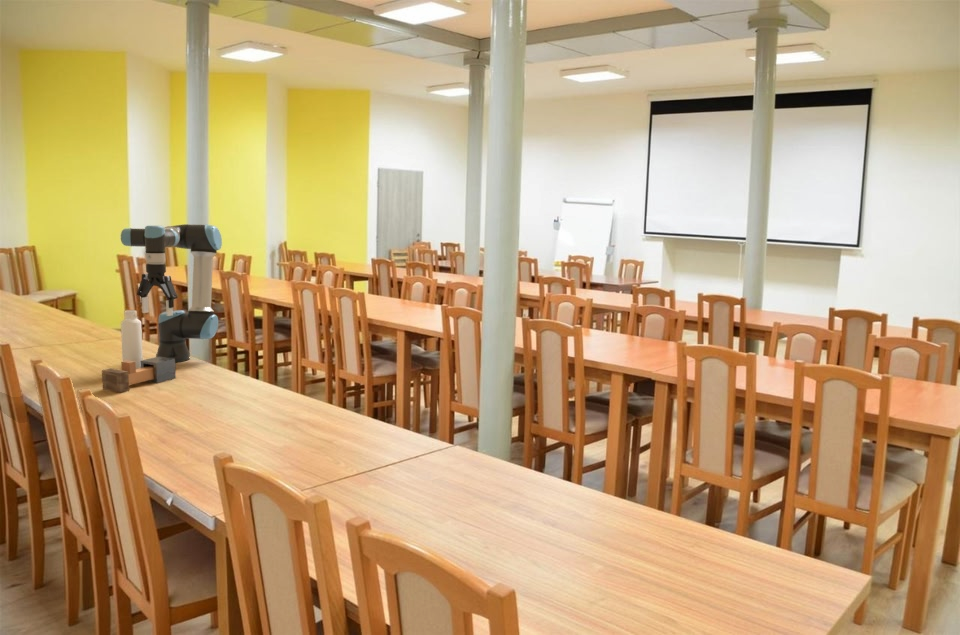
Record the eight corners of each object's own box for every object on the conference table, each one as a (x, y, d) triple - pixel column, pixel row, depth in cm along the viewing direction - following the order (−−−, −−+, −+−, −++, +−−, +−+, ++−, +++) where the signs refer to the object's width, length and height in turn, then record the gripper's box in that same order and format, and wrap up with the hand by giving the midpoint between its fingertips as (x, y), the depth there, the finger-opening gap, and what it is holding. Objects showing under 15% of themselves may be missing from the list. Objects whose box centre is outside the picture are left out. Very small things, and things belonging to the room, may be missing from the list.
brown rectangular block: (111, 387, 306) (110, 368, 305) (129, 390, 302) (128, 371, 301) (102, 389, 302) (101, 370, 301) (120, 393, 298) (119, 373, 297)
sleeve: (160, 375, 328) (159, 356, 327) (175, 378, 324) (174, 358, 323) (141, 380, 319) (140, 360, 318) (157, 383, 315) (156, 363, 314)
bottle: (138, 376, 325) (135, 312, 321) (119, 376, 325) (116, 312, 321) (146, 372, 333) (144, 310, 329) (128, 372, 333) (125, 309, 329)
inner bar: (149, 376, 320) (149, 355, 319) (157, 377, 318) (156, 356, 317) (109, 386, 302) (108, 364, 301) (117, 387, 300) (116, 365, 299)
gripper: (126, 262, 313) (128, 312, 316) (171, 265, 303) (173, 318, 306) (141, 260, 319) (143, 310, 323) (185, 264, 309) (187, 315, 313)
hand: (157, 314), depth 314 cm, fingers open, 13 cm apart
